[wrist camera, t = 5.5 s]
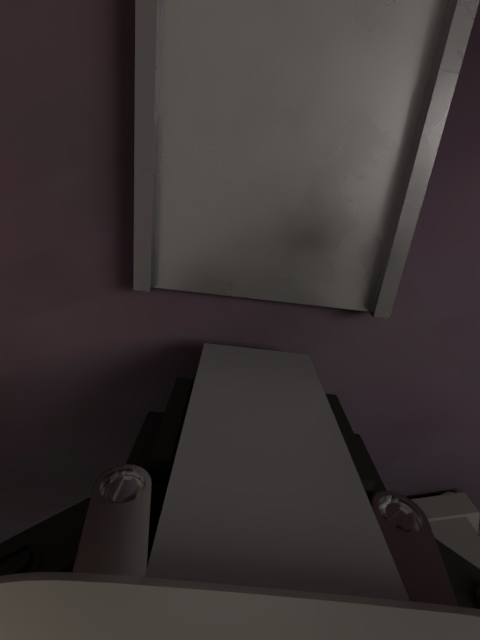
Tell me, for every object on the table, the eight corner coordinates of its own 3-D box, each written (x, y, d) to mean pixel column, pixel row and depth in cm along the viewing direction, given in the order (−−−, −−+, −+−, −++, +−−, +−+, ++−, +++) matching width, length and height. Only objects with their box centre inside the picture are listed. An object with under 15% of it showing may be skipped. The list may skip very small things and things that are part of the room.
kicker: (347, 358, 13) (536, 656, 5) (299, 552, 17) (356, 914, 8) (164, 338, 13) (17, 615, 4) (156, 539, 17) (66, 898, 8)
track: (505, -149, 9) (538, -192, 8) (380, 309, 14) (392, 318, 13) (145, -206, 9) (132, -258, 8) (139, 281, 13) (130, 289, 12)
